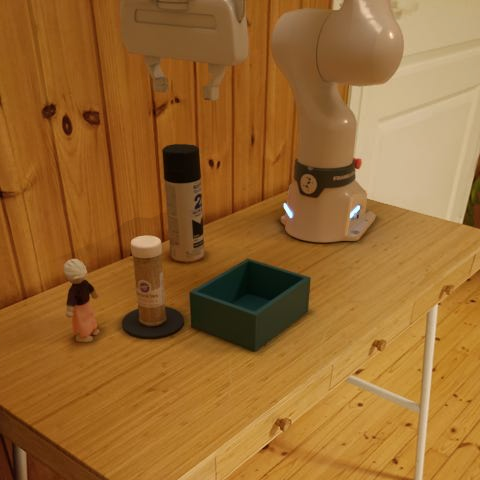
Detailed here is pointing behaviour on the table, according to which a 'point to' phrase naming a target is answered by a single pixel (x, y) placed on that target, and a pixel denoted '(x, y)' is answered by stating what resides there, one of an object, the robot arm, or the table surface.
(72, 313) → the grandmother figurine
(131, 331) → the pad
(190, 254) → the spray can
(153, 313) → the sprinkles bottle
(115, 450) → the table surface
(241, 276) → the basin
